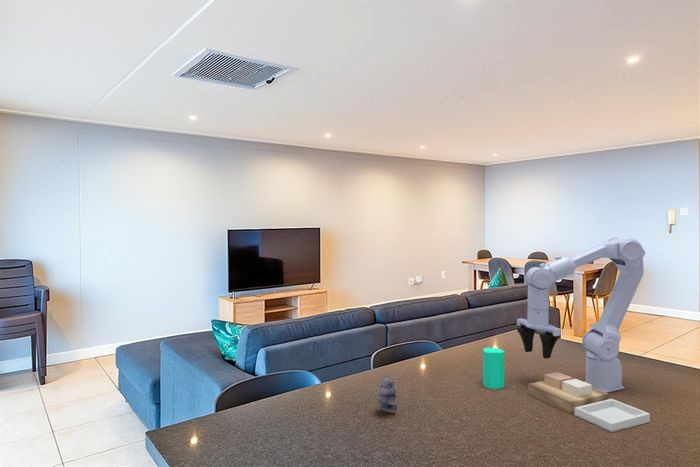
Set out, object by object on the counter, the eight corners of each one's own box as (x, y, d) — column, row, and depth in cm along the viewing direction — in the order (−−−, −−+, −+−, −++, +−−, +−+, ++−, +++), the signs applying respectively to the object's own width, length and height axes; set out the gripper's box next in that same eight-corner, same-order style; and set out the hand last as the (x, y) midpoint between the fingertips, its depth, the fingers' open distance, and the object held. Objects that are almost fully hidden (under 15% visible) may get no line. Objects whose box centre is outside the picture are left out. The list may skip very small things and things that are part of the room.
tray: (611, 406, 119) (611, 398, 119) (649, 421, 110) (650, 413, 109) (574, 415, 113) (574, 407, 113) (611, 432, 104) (611, 424, 104)
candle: (505, 389, 130) (505, 348, 130) (484, 388, 132) (484, 347, 131) (502, 382, 136) (503, 342, 136) (482, 380, 137) (482, 341, 137)
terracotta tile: (557, 380, 129) (557, 371, 129) (572, 386, 125) (572, 377, 125) (544, 383, 127) (544, 374, 127) (559, 389, 123) (559, 380, 123)
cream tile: (575, 387, 124) (575, 378, 124) (591, 394, 119) (591, 384, 119) (562, 390, 122) (562, 381, 122) (578, 397, 117) (578, 387, 117)
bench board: (564, 386, 132) (564, 376, 132) (608, 404, 120) (608, 393, 120) (528, 394, 127) (528, 383, 127) (570, 413, 114) (570, 402, 114)
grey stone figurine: (399, 410, 117) (399, 371, 116) (394, 418, 112) (394, 378, 111) (379, 407, 118) (379, 369, 118) (374, 415, 113) (374, 376, 113)
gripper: (509, 305, 137) (509, 349, 138) (547, 314, 124) (547, 363, 124) (527, 303, 140) (526, 347, 140) (566, 312, 127) (565, 360, 127)
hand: (537, 354), depth 133 cm, fingers open, 6 cm apart
